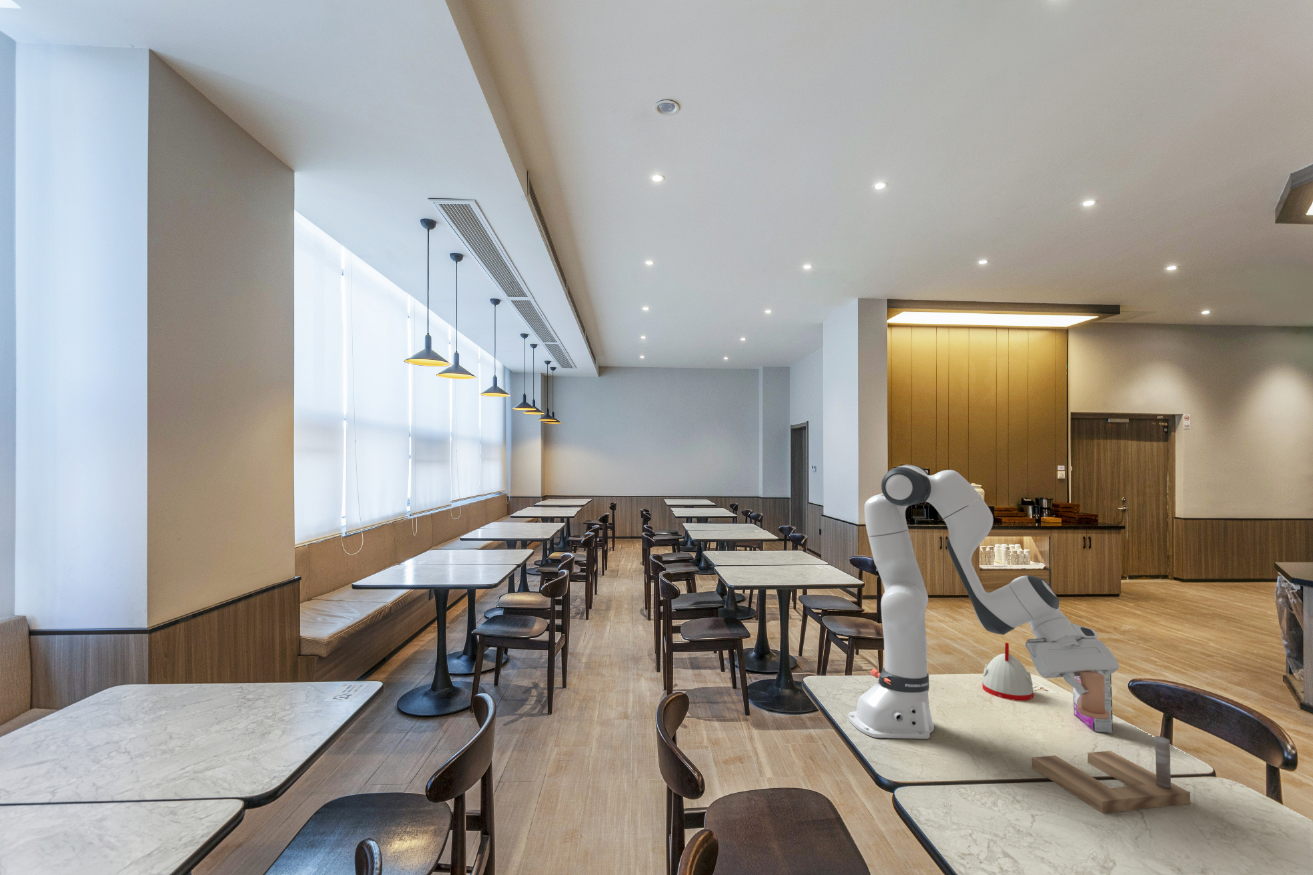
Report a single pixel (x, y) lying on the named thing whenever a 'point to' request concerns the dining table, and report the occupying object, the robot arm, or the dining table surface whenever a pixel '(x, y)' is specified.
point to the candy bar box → (1095, 723)
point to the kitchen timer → (1007, 678)
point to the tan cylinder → (1093, 696)
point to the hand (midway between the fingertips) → (1095, 692)
